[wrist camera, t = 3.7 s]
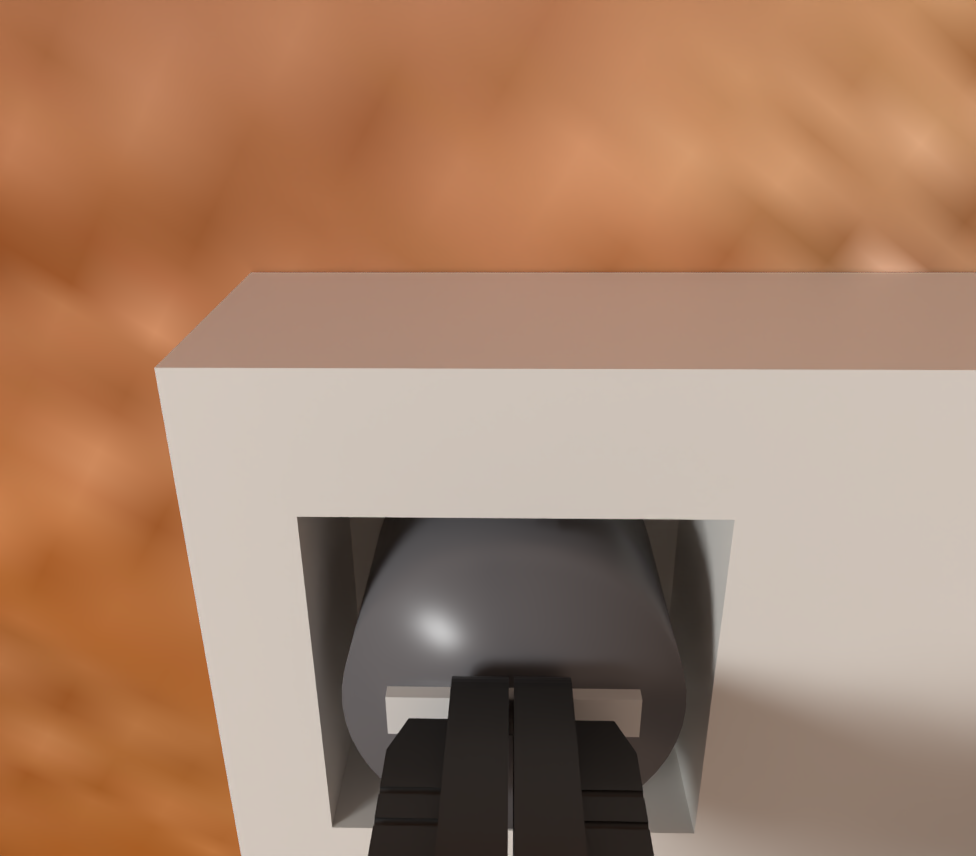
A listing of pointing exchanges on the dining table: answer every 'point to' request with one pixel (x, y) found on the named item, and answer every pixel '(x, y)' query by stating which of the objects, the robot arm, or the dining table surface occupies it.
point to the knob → (515, 627)
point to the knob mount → (608, 495)
